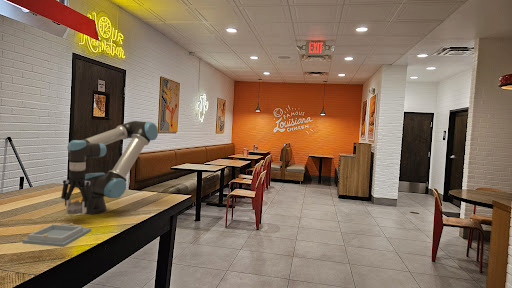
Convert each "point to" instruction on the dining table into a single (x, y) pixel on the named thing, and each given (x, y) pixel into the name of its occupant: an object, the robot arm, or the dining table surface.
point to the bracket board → (57, 235)
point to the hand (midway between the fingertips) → (76, 212)
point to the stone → (75, 207)
